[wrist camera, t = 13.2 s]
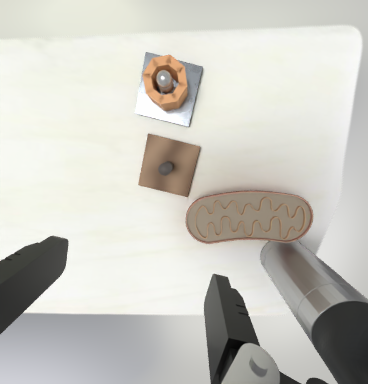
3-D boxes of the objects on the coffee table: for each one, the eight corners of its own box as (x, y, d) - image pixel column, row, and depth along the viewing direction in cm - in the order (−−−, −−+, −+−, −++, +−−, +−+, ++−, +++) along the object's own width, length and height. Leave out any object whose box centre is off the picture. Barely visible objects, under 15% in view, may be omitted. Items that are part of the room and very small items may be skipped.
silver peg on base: (202, 69, 33) (206, 46, 26) (188, 127, 35) (188, 120, 28) (147, 54, 33) (135, 27, 26) (136, 113, 35) (123, 104, 28)
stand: (200, 146, 36) (202, 145, 29) (187, 195, 38) (187, 205, 31) (149, 134, 36) (139, 130, 29) (139, 184, 38) (128, 191, 31)
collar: (183, 67, 32) (182, 52, 27) (189, 106, 33) (189, 99, 29) (147, 73, 32) (139, 60, 28) (154, 112, 34) (148, 106, 29)
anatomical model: (186, 233, 40) (186, 244, 35) (185, 187, 38) (184, 193, 33) (295, 231, 39) (310, 242, 34) (300, 184, 37) (317, 189, 32)
